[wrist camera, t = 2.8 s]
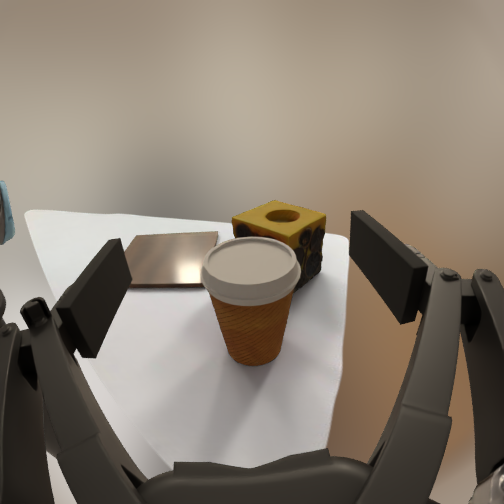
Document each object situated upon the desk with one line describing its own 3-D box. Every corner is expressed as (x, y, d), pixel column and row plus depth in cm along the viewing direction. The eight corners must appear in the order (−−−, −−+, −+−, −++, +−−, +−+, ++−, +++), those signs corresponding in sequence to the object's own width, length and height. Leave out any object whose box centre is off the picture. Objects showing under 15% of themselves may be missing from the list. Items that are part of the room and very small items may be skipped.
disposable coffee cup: (204, 371, 29) (183, 283, 24) (224, 315, 38) (214, 233, 32) (292, 381, 28) (300, 291, 22) (296, 321, 36) (302, 236, 30)
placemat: (103, 287, 44) (102, 283, 43) (136, 238, 59) (136, 235, 59) (206, 287, 43) (206, 282, 43) (218, 234, 59) (217, 231, 59)
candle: (233, 276, 46) (228, 217, 41) (273, 251, 52) (272, 198, 47) (285, 302, 40) (287, 237, 35) (322, 271, 46) (327, 213, 41)
